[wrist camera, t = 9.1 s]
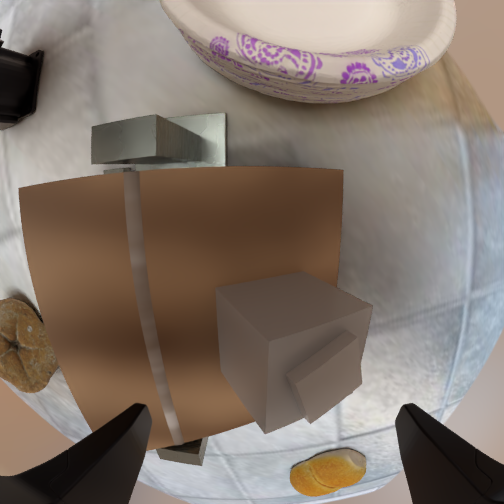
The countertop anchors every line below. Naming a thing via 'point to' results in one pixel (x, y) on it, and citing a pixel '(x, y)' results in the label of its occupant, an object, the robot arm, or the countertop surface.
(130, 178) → the trapdoor
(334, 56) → the paper bowls
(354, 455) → the bread roll
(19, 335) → the fossil
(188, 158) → the trapdoor frame
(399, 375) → the countertop surface
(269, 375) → the gray block
